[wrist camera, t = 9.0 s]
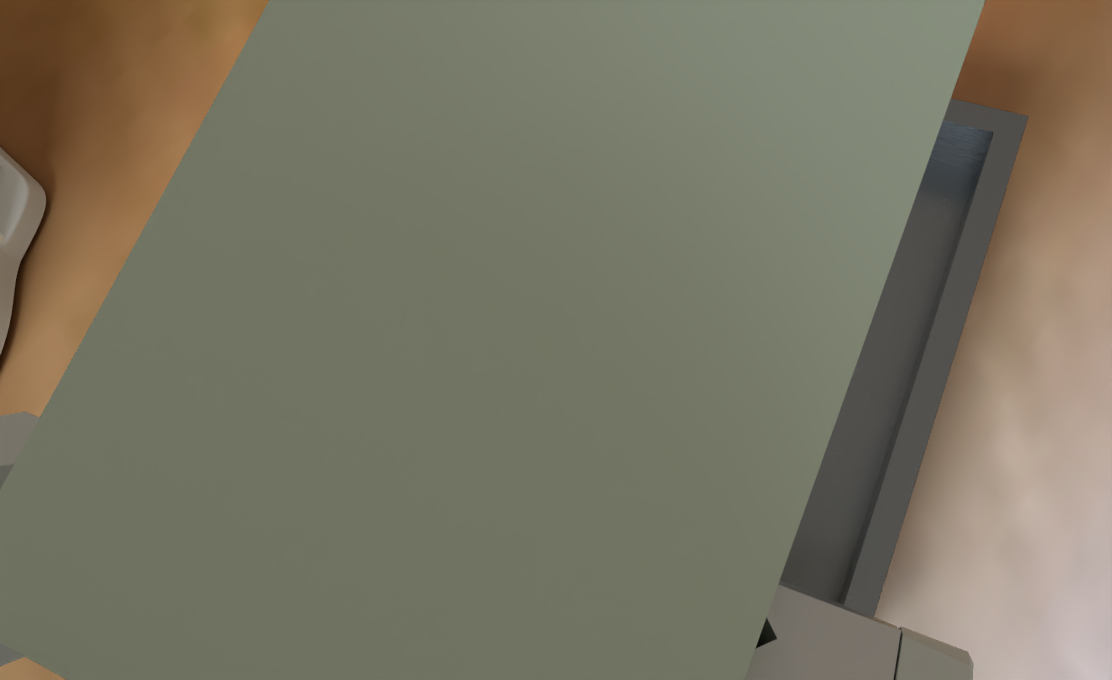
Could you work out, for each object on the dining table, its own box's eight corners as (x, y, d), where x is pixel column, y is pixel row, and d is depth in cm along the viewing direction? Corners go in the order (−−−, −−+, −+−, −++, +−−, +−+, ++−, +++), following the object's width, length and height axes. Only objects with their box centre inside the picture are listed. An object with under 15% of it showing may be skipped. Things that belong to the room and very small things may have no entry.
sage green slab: (452, 634, 15) (-64, 607, 5) (690, 77, 17) (632, -660, 7) (704, 752, 13) (634, 990, 4) (923, 139, 16) (1210, -633, 6)
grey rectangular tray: (575, 571, 31) (556, 561, 28) (754, 106, 35) (755, 52, 32) (841, 680, 29) (853, 682, 25) (1001, 167, 33) (1028, 116, 29)
